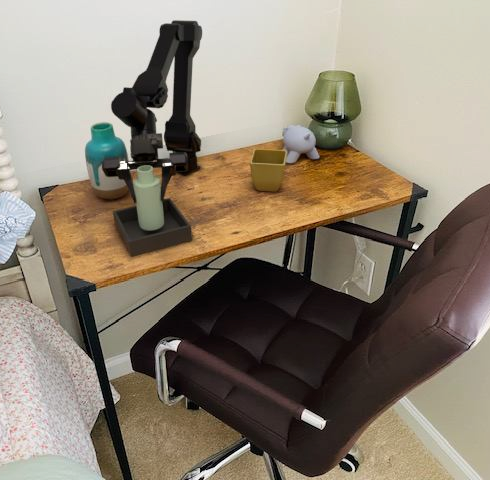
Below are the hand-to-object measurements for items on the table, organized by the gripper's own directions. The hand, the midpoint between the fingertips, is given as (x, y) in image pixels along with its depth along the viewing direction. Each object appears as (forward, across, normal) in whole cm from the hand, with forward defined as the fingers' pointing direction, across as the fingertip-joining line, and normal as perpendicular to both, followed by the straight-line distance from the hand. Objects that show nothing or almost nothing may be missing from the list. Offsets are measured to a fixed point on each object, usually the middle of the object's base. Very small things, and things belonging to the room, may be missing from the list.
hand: (148, 201), depth 107 cm
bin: (+6, 0, +7) cm, 9 cm away
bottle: (+4, 0, +6) cm, 7 cm away
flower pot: (-7, +30, +20) cm, 37 cm away
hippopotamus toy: (-20, +43, +34) cm, 58 cm away
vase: (-8, -11, +21) cm, 25 cm away
